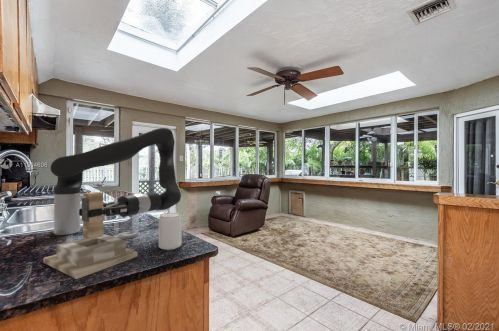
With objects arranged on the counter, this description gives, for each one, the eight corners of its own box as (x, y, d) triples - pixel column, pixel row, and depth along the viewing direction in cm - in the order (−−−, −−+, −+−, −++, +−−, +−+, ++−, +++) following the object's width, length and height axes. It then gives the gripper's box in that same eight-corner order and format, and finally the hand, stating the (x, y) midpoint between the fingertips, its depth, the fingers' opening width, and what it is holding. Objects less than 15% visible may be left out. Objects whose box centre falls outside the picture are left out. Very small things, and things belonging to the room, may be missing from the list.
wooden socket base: (43, 262, 73) (43, 244, 73) (103, 245, 89) (103, 230, 89) (76, 279, 63) (76, 258, 63) (137, 256, 79) (137, 239, 79)
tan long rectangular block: (81, 237, 75) (80, 193, 74) (96, 233, 79) (96, 191, 78) (87, 239, 73) (87, 194, 73) (103, 235, 77) (103, 192, 77)
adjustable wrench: (64, 253, 82) (64, 248, 82) (61, 248, 86) (61, 244, 86) (138, 237, 100) (138, 233, 100) (133, 234, 104) (133, 230, 104)
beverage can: (186, 245, 90) (186, 213, 90) (169, 252, 83) (169, 218, 83) (170, 241, 94) (170, 211, 94) (153, 248, 87) (153, 215, 86)
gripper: (122, 193, 92) (71, 199, 77) (146, 196, 85) (95, 203, 70) (122, 212, 92) (71, 222, 77) (146, 216, 85) (96, 228, 70)
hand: (83, 213), depth 73 cm, fingers closed on tan long rectangular block, 4 cm apart
